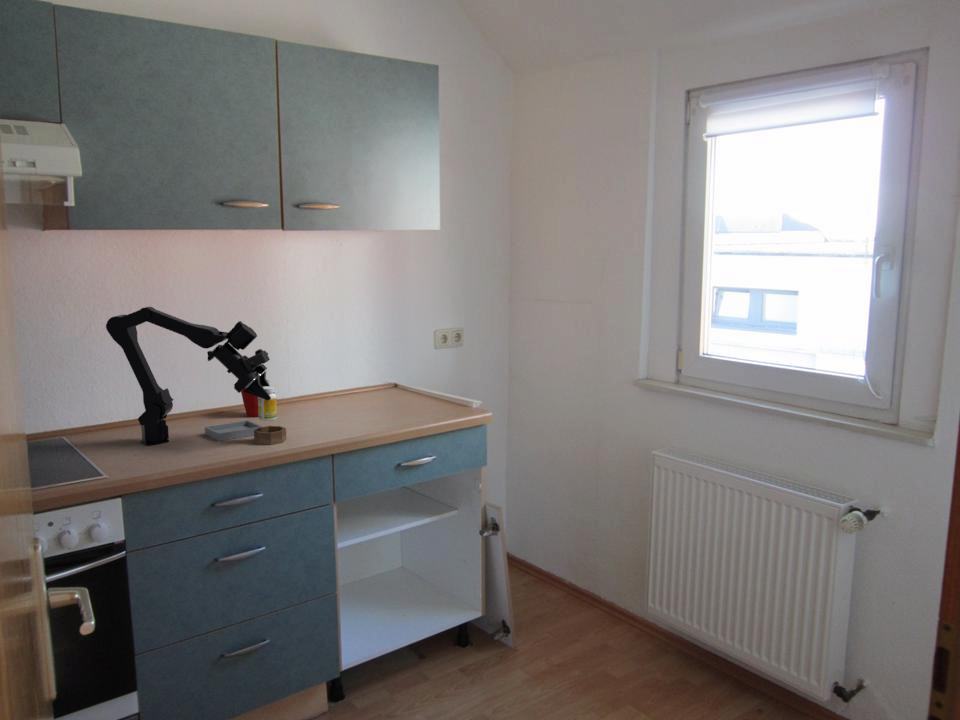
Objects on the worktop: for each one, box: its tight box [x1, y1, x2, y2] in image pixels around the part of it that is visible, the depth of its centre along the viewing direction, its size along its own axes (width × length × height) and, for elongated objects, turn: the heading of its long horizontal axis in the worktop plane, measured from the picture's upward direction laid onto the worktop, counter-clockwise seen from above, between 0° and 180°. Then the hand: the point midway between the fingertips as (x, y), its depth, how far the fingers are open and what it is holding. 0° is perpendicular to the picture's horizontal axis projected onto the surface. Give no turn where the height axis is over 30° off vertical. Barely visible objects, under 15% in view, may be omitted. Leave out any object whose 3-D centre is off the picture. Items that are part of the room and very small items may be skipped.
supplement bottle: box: [257, 386, 278, 422], centre depth 229 cm, size 5×5×10 cm
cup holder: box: [253, 425, 287, 446], centre depth 230 cm, size 9×9×4 cm
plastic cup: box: [240, 379, 270, 418], centre depth 262 cm, size 11×11×12 cm
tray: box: [204, 419, 264, 442], centre depth 238 cm, size 14×11×2 cm
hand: (271, 397), depth 228 cm, fingers closed on supplement bottle, 5 cm apart
